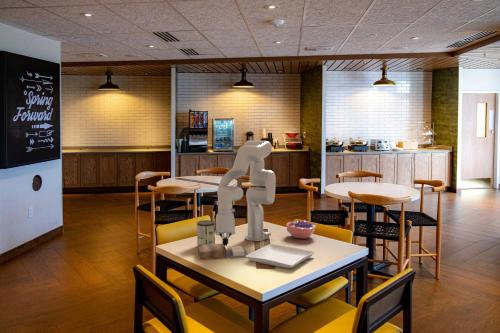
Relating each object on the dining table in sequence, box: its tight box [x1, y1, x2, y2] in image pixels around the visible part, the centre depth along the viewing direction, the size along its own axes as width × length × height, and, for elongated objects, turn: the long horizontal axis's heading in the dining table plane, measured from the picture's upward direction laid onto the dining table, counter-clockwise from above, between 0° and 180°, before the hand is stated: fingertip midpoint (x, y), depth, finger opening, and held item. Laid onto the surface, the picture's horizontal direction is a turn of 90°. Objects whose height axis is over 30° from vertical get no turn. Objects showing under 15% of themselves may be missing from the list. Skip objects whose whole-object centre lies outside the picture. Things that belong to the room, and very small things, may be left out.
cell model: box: [285, 219, 317, 240], centre depth 264 cm, size 17×20×11 cm
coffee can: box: [196, 219, 216, 248], centre depth 245 cm, size 10×10×14 cm
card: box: [230, 245, 244, 256], centre depth 231 cm, size 6×9×2 cm, turn 10°
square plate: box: [245, 243, 316, 269], centre depth 222 cm, size 27×27×4 cm
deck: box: [197, 243, 228, 261], centre depth 229 cm, size 14×14×4 cm
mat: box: [226, 248, 249, 259], centre depth 232 cm, size 11×15×1 cm
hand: (225, 245), depth 230 cm, fingers closed
